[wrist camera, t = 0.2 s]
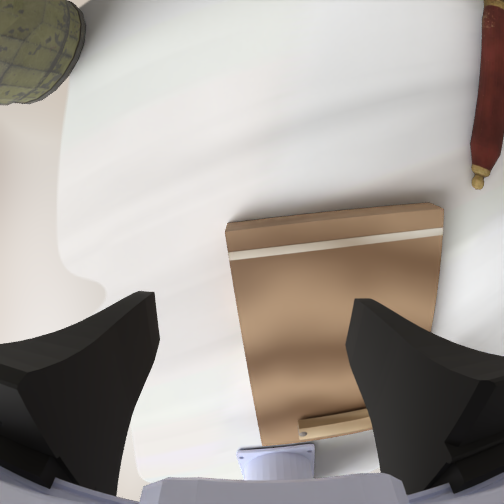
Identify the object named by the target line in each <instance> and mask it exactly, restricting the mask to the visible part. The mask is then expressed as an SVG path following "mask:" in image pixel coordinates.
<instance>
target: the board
mask: <svg viewBox="0 0 504 504" xmlns="http://www.w3.org/2000/svg"><path fill="white" fill-rule="evenodd" d="M443 218H444V209H443V208H441V207H439V206H436V205H434V204H432V203H416V204H404V205H392V206H381V207H370V208H359V209H349V210H339V211H329V212H319V213H310V214H301V215H292V216H283V217H274V218H265V219H257V220H249V221H241V222H233V223H227V226H226V230H225V236H226V242H227V249H228V256H229V261H230V268H231V274H232V280H233V286H234V292H235V298H236V304H237V310H238V316H239V322H240V327H241V333H242V339H243V345H244V350H245V356H246V362H247V367H248V373H249V378H250V384H251V389H252V395H253V400H254V405H255V411H256V416H257V421H258V426H259V432H260V437H261V442H262V446H270V445H281V444H290V443H298V442H306V441H313V440H320V439H326V438H332V437H337V436H343V435H348V434H353V433H358V432H363V431H367V430H372V429H373V428H372V427H370V428H366V429H361V430H356V431H351V432H346V433H341V434H335V435H330V436H324V437H317V438H310V439H303V440H300V439H299V433H298V420H303V419H310V418H317V417H324V416H330V415H336V414H341V413H347V412H352V411H357V410H362V409H366V405H365V403H364V400H363V398H362V395H361V393H360V390H359V388H358V385H357V383H356V380H355V378H354V375H353V372H352V370H351V367H350V364H349V360H348V355H347V351H346V346H345V343H346V338H347V334H348V329H349V324H350V319H351V314H352V309H353V304H354V299H355V298H370V299H373V300H375V301H377V302H379V303H381V304H382V305H384V306H386V307H387V308H389V309H391V310H392V311H394V312H396V313H397V314H399V315H401V316H402V317H404V318H406V319H407V320H409V321H411V322H412V323H414V324H416V325H418V326H420V327H421V328H423V329H425V330H427V331H429V332H431V327H432V322H433V316H434V310H435V303H436V296H437V289H438V281H439V272H440V262H441V251H442V237H443Z"/></svg>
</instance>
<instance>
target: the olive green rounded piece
mask: <svg viewBox="0 0 504 504" xmlns="http://www.w3.org/2000/svg"><path fill="white" fill-rule="evenodd" d="M85 28H86V25H85V21H84V17H83V13H82V12H81V11H80V10H79V8H78V7H77V6H76V5H75V4H74V3H72V2H70V1H67V0H0V105H9V104H11V103H22V104H31V103H34V102H37V101H40V100H43V99H44V98H46V97H47V96H48V95H50V94H51V93H53V92H54V91H56V90H57V88H58V87H59V86H60V85H61V84H62V83H63V82H64V81H65V79H66V78H67V77H68V76H69V74H70V73H71V71H72V69H73V67H74V66H75V64H76V62H77V61H78V59H79V56H80V53H81V50H82V47H83V44H84V39H85Z"/></svg>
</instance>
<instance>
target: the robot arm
mask: <svg viewBox="0 0 504 504" xmlns="http://www.w3.org/2000/svg"><path fill="white" fill-rule="evenodd" d="M159 341H160V336H159V328H158V320H157V312H156V303H155V293H154V292H144V291H138V292H135V293H133V294H131V295H129V296H127V297H125V298H124V299H122V300H120V301H118V302H116V303H115V304H113V305H111V306H109V307H108V308H106V309H104V310H102V311H100V312H98V313H96V314H94V315H92V316H90V317H88V318H86V319H84V320H83V321H80V322H78V323H76V324H74V325H71V326H69V327H66V328H64V329H61V330H59V331H56V332H53V333H49V334H46V335H42V336H39V337H35V338H32V339H27V340H23V341H18V342H12V343H5V344H0V504H504V356H499V355H494V354H489V353H485V352H481V351H477V350H474V349H471V348H468V347H465V346H461V345H459V344H456V343H453V342H451V341H449V340H446V339H444V338H442V337H439V336H437V335H435V334H433V333H431V332H429V331H427V330H425V329H423V328H421V327H420V326H418V325H416V324H414V323H412V322H411V321H409V320H407V319H406V318H404V317H402V316H401V315H399V314H397V313H396V312H394V311H392V310H391V309H389V308H387V307H386V306H384V305H382V304H381V303H379V302H377V301H375V300H373V299H370V298H355V299H354V304H353V309H352V314H351V319H350V324H349V329H348V334H347V338H346V343H345V346H346V351H347V355H348V360H349V364H350V367H351V370H352V372H353V375H354V378H355V380H356V383H357V385H358V388H359V390H360V393H361V395H362V398H363V400H364V403H365V405H366V408H367V411H368V414H369V417H370V420H371V424H372V428H373V432H374V437H375V441H376V447H377V452H378V458H379V463H380V471H381V473H366V474H351V475H343V476H335V477H325V478H314V460H315V446H314V444H304V445H296V446H287V447H278V448H267V449H254V450H239V451H237V452H236V456H237V459H238V462H239V465H240V468H241V472H242V475H243V478H244V480H228V479H212V478H201V477H194V478H175V477H168V478H166V479H163V480H160V481H157V482H154V483H152V484H149V485H146V486H144V487H143V490H142V494H141V498H140V502H137V501H133V500H129V499H124V498H120V497H116V494H117V485H118V478H119V471H120V466H121V460H122V455H123V450H124V445H125V441H126V436H127V432H128V428H129V425H130V421H131V417H132V414H133V411H134V408H135V405H136V403H137V401H138V398H139V396H140V393H141V391H142V389H143V386H144V384H145V382H146V379H147V377H148V375H149V372H150V370H151V368H152V365H153V363H154V360H155V357H156V353H157V349H158V345H159Z"/></svg>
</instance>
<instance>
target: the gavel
mask: <svg viewBox="0 0 504 504" xmlns="http://www.w3.org/2000/svg"><path fill="white" fill-rule="evenodd" d="M503 137H504V0H484V12H483V17H482V51H481V67H480V79H479V89H478V98H477V105H476V112H475V119H474V125H473V131H472V137H471V142H470V145H471V155H472V167H471V168H472V171H473V172H474V173H475V176H474V177H473V179H472V186H473V187H474V188H475V189H482V188H483V186H484V177H488V176H489V175H490V172H491V170H492V168H493V166H494V165H495V163H496V161H497V159H498V158H499V156H500V153H501V148H502V143H503Z"/></svg>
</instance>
